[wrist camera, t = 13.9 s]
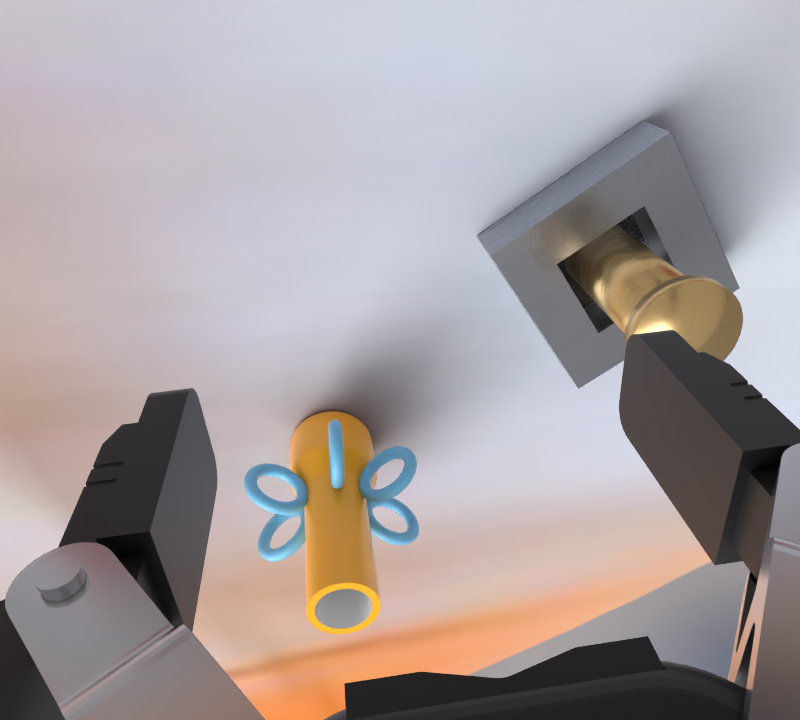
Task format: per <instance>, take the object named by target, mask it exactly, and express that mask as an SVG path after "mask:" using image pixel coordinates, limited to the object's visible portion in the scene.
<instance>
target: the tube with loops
mask: <svg viewBox="0 0 800 720" xmlns="http://www.w3.org/2000/svg"><path fill="white" fill-rule="evenodd" d="M393 459H403V460H404V463H405V464H404V469H403V471H402V473H401V474H400V476H399V477H398V478H397V479H396V480H395V481H394V482H393V483H392V484H390V485H389V486H387V487H385V488H382V489H379V490H374V487H375V484H376V480H377V470H378V469H379V468H380V467H381V466H382V465H384V464H385V463H387V462H388V461H390V460H393ZM416 467H417V461H416V457H415V455H414V453H413V452H412V451H411V450H409V449H407V448H405V447H393V448H389V449H386V450H384V451H382V452H381V453H379V454H378V455H376V456H374V450H373V444H372V439H371V435H370V432H369V430H368V429H367V427H366V426H365V425H364V424H363V423H362V422H361V421H360V420H359V419H357V418H356V417H354V416H352V415H350V414H347V413H343V412H339V411H328V412H321V413H318V414H315V415H313V416H311V417H309V418H307V419H306V420H304V421H303V422H302V423H301V424H300V425H299V426H298V427H297V428H296V430H295V431H294V433H293V435H292V438H291V441H290V470H289V469H287V468H285V467H283V466H280V465H276V464H260V465H257V466H254V467H253V468H251V469H250V470H249V471H248V472H247V474H246V476H245V479H244V487H245V490H246V493H247V494H248V496H249V497H250V499H251V500H252V501H253V502H254V503H255V504H256V505H258V506H259V507H261V508H262V509H264V510H266V511H269V512H271V513H275V515H274V516H273V517H272V518H271V519H270V520H269V521H268V523H267V524H266V525H265V527H264V529H263V530H262V532H261V534H260V537H259V541H258V551H259V553H260V555H261V557H262V558H264V559H265V560H267V561H279V560H282V559H285V558H287V557H288V556H290V555H292V554H293V553H294V552H295V551H297V550H298V549H299V548H300V547H301V546H302V544H303V543H304V542H305V564H306V614H307V618H308V620H309V622H310V623H311V624H312V625H313V626H314V627H315V628H317V629H319V630H321V631H323V632H327V633H331V634H347V633H352V632H356V631H358V630H361V629H363V628H365V627H366V626H368V625H369V624H371V623H372V622H373V621H374V620H375V619H376V617H377V616H378V614H379V611H380V597H379V590H378V583H377V575H376V568H375V561H374V553H373V546H372V538H371V533H373V534H374V535H375V536H376V537H378V538H379V539H381V540H383V541H385V542H387V543H390V544H394V545H406V544H409V543H411V542H413V541H414V540H415V539H416V538H417V536H418V533H419V525H418V521H417V519H416V517H415V515H414V514H413V513H412V511H411V510H410V509H409V508H408V507H407V506H405V505H404V504H403V503H401V502H400V501H398V500H396V499H394V498H393V497H395V496H396V495H398V494H399V493H400V492H402V491H403V490H404V489H405V488H406V487H407V486H408V484H409V483H410V482H411V480H412V478H413V476H414V474H415V471H416ZM262 476H275V477H278V478H281V479H283V480H284V481H286V482H288V483H289V484H290V486H291V489H292V492H293V494H294V495H295V497H296V499H295V500H293V501H291V502H281V501H277V500H274V499H272V498H270V497H268V496H266V495H265V494H264V493H263V492H262V491H261V490H260V489H259V487H258V485H257V479H258V478H259V477H262ZM378 506H380V507H386V508H389V509H391V510H393V511H395V512H396V513H397V514H399V515H400V516H401V517H402V518H403V519H404V521H405V522H406V524H407V527H408V529H407V531H406V532H404V533H397V532H393V531H390V530H388V529H386V528H385V527H383V526H382V525H381V524H380V523H379V522H378V521H377V520H376V519H375V518H374V516H373V513H372V509H373V508H374V507H378ZM294 516H300V517H301V524H300V527H299V529H298V531H297V532H296V534H295V535H294V536H293V538H292V539H291V540H290V541H288V542H287V543H286V544H285V545H283V546H281V547H279V548H276V549H271V548H270V541H271V538H272V536H273V534H274V532H275V531H276V530H277V528H278V527H279V526H280V525H281V524H282V523H283V522H285V521H286V520H288V519H289V518H291V517H294Z"/></svg>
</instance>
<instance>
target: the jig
mask: <svg viewBox="0 0 800 720" xmlns="http://www.w3.org/2000/svg"><path fill="white" fill-rule="evenodd" d="M631 214H632V215H633V217H634V219H635V221H636V223H637V225H638V227H639V229H640V231H641V233H642V235H643V237H644V239H645V241H646V243H647V245H648V247H649V249H650V250H652V251H653V252H654V253H655V254H657V255H658V256H659V257H661V258H662V259H663V260H665V261H666V262H667V263H669V264H670V265H671V266H673V267H674V268H675V269H677V270H678V271H679V272H681V273H682V274H683V275H701V276H706V277H709V278H712V279H713V280H715V281H717V282H718V283H720V284H721V285H723V286H724V287H725V288H727V289H728V290H729V291H731V292H732V293H733V292H734V291H736V290H737V289H739V286H738V283H737V281H736V279H735V277H734V274H733V272H732V270H731V267H730V265H729V263H728V261H727V258H726V256H725V254H724V251H723V249H722V247H721V245H720V242H719V240H718V238H717V236H716V233H715V231H714V229H713V226H712V224H711V222H710V220H709V217H708V215H707V213H706V210H705V208H704V206H703V204H702V201H701V199H700V197H699V194H698V192H697V190H696V188H695V185H694V183H693V181H692V178H691V176H690V174H689V172H688V169H687V167H686V165H685V163H684V160H683V158H682V156H681V153H680V151H679V149H678V147H677V144H676V142H675V140H674V137H673V135H672V133H671V132H670V131H668V130H665V129H663V128H660V127H658V126H655V125H653V124H650V123H648V122H645V121H641V122H640V123H639V124H637V125H636V126H634V127H633V128H631V129H630V130H628V131H627V132H626V133H624V134H623V135H621V136H620V137H618V138H617V139H616V140H614V141H613V142H611V143H610V144H608V145H607V146H605V147H604V148H603V149H601V150H600V151H598V152H597V153H595V154H594V155H593V156H591V157H590V158H588V159H587V160H585V161H584V162H582V163H581V164H580V165H578V166H577V167H575V168H574V169H572V170H571V171H570V172H568V173H567V174H565V175H564V176H562V177H561V178H559V179H558V180H557V181H555V182H554V183H552V184H551V185H549V186H548V187H547V188H545V189H544V190H542V191H541V192H539V193H538V194H536V195H535V196H534V197H532V198H531V199H529V200H528V201H526V202H525V203H524V204H522V205H521V206H519V207H518V208H516V209H515V210H513V211H512V212H511V213H509V214H508V215H506V216H505V217H503V218H502V219H501V220H499V221H498V222H496V223H495V224H493V225H492V226H490V227H489V228H488V229H486V230H485V231H483V232H482V233H480V234H479V235H478V236H477V237H478V239H479V240H480V242H481V243H482V245H483V246H484V248H485V249H486V251H487V252H488V254H489V255H490V257H491V259H492V260H493V262H494V263H495V265H496V266H497V268H498V269H499V271H500V272H501V274H502V275H503V277H504V278H505V280H506V281H507V283H508V284H509V286H510V287H511V289H512V290H513V292H514V293H515V295H516V296H517V298H518V299H519V301H520V302H521V304H522V305H523V307H524V308H525V310H526V311H527V313H528V314H529V316H530V317H531V319H532V320H533V322H534V323H535V325H536V326H537V328H538V329H539V331H540V332H541V334H542V335H543V337H544V339H545V340H546V342H547V343H548V345H549V346H550V348H551V349H552V351H553V352H554V354H555V355H556V357H557V358H558V360H559V361H560V363H561V364H562V366H563V367H564V368H565V370H566V371H567V373H568V374H569V376H570V377H571V379H572V380H573V381H574V383H575V384H576V386H577V387H578V389H579V388H580V387H582V386H584V385H585V384H587V383H588V382H590V381H592V380H593V379H595V378H596V377H598V376H600V375H601V374H603V373H604V372H606V371H608V370H609V369H611V368H612V367H614V366H616V365H617V364H619V363H620V362H622V361H624V359H625V351H626V348H625V341H624V337H625V333H624V332H623V331H622V330H621V329H620V328H619V327H618V326H617V325H616V324H615V323H614V322H613V321H612V320H611V318H610V317H609V316H608V315H607V314H606V313H605V312H604V311H603V310H602V309H601V308H600V307H599V306H598V305H597V304H596V302H595V301H592V302H591V303H589V304H588V305H586V306H585V307H582V305H581V303H580V302H579V300H578V299H577V297H576V295H575V294H574V292H573V290H572V289H571V287H570V285H569V284H568V282H567V280H566V279H565V277H564V275H563V274H562V272H561V270H560V269H559V267H558V265H557V264H558V263H559V262H561V261H562V260H564V259H565V258H567V257H568V256H570V255H571V254H573V253H574V252H576V251H577V250H579V249H580V248H582V247H583V246H585V245H586V244H588V243H589V242H591V241H592V240H594V239H595V238H597V237H598V236H600V235H601V234H603V233H604V232H606V231H607V230H609V229H610V228H612V227H613V226H615V225H616V224H618V223H619V222H621V221H622V220H624V219H625V218H627V217H628V216H630V215H631Z"/></svg>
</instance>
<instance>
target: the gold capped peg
mask: <svg viewBox="0 0 800 720" xmlns="http://www.w3.org/2000/svg"><path fill="white" fill-rule="evenodd" d="M564 265H565V268H566V270H567V272H568V273H569V275H570V276H571V277H572V278H573V279H574V280H575V281H576V282H577V283H578V284H579V285H580V286H581V287H582V289H583V290H584V291H585V292H586V293H587V294H588V295H589V296H590V297H591V298H592V299H593V300H594V301H595V302H596V304H597V305H598V306H599V307H600V308H601V309H602V310H603V311H604V312H605V313H606V314H607V315H608V316H609V317H610V318H611V320H612V321H613V322H614V323H615V324H616V325H617V326H618V327H619V328H620V329H621V330H622V331H623V332H624V333H625V337H624V341H625V348H626V344H627V341H628V339H629V337H630V336H631V335H633V334H640V333H648V332H656V331H664V330H674V331H676V332H677V333H678V334H679V335H680V336H681V337H682V338H683V339H684V340H685V341H686V342H687V343H688V344H689V345H691V346H692V347H693V348H694V349H695V350H696V351H697V352H698V353H699V352H705V353H707V354H709V355H711V356H714V357H716V358H718V359H720V360H722V361H724V360H725V359H726V357H727V356H728V355H729V354H730V353H731V351H732V350H733V348H734V347H735V345H736V343H737V341H738V338H739V336H740V333H741V329H742V323H743V314H742V308H741V305H740V303H739V301H738V299H737V298H736V296H735V295H734V294H733V293H732V292H731V291H729V290H728V289H727V288H725V287H724V286H723V285H721V284H720V283H718V282H717V281H715V280H713V279H712V278H709V277H706V276H701V275H683V274H682V273H681V272H679V271H678V270H677V269H675V268H674V267H673V266H671V265H670V264H669V263H667V262H666V261H665V260H663V259H662V258H661V257H659V256H658V255H657V254H655V253H654V252H653V251H652V250H650V249H649V248H648V247H646V246H645V245H644V244H642V243H641V242H640V241H638V240H637V239H636V238H634V237H633V236H632V235H630V234H629V233H628V232H626V231H625V230H624V229H622V228H621V227H620V226H618V225H617V224H616V225H615V226H613V227H612V228H610V229H609V230H607V231H606V232H604V233H603V234H601V235H600V236H598V237H597V238H595V239H594V240H592V241H591V242H589V243H588V244H586V245H585V246H583V247H582V248H580V249H579V250H577V251H576V252H574V253H573V254H571V255H570V256H568V257H567V258H565V259H564Z"/></svg>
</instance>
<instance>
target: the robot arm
mask: <svg viewBox="0 0 800 720" xmlns="http://www.w3.org/2000/svg"><path fill="white" fill-rule="evenodd" d="M619 413H620V419H621V424H622V427H623V430H624V432H625V434H626V436H627V437H628V439H629V440H630V442H631V443H632V445H633V446H634V448H635V449H636V451H637V452H638V454H639V455H640V457H641V458H642V459H643V461H644V462H645V464H646V465H647V467H648V468H649V470H650V471H651V473H652V474H653V476H654V477H655V478H656V480H657V481H658V483H659V484H660V486H661V487H662V489H663V490H664V492H665V493H666V495H667V496H668V498H669V499H670V500H671V502H672V503H673V505H674V506H675V508H676V509H677V511H678V512H679V514H680V515H681V517H682V518H683V519H684V521H685V522H686V524H687V525H688V527H689V528H690V530H691V531H692V533H693V534H694V536H695V537H696V539H697V540H698V541H699V543H700V544H701V546H702V547H703V549H704V550H705V552H706V553H707V555H708V556H709V558H710V559H711V560H712V562H713V563H714V565H718V564H726V563H732V562H739V561H743V562H744V563H745V564H746V566H747V567H748V568H749V573H748V576H747V580H746V583H745V588H744V593H743V599H742V605H741V610H740V616H739V621H738V627H737V632H736V639H735V643H734V649H733V655H732V660H731V666H730V671H729V676H728V680H727V679H725V678H722V677H720V676H717V675H715V674H712V673H710V672H708V671H704V670H701V669H698V668H695V667H691V666H688V665H683V664H678V663H673V662H667V661H660V660H659V657H658V655H657V653H656V651H655V650H654V647H653V645H652V644H651V642H650V640H649V638H648V637H641V638H634V639H628V640H621V641H615V642H608V643H602V644H595V645H589V646H583V647H577V648H573V649H571V650H569V651H567V652H564V653H562V654H560V655H557V656H555V657H553V658H550V659H548V660H546V661H544V662H541V663H539V664H537V665H535V666H532V667H530V668H528V669H525V670H523V671H521V672H518V673H516V674H514V675H512V676H509V677H505V678H486V677H476V676H464V675H453V674H441V673H430V672H416V673H409V674H403V675H397V676H390V677H384V678H377V679H371V680H365V681H358V682H352V683H345V702H346V709H345V710H342V711H340V712H338V713H336V714H334V715H332V716H330V717H328V718H326V719H325V720H800V430H799V429H798V428H797V427H796V426H795V425H794V424H793V423H792V422H791V421H790V420H789V419H787V418H786V417H785V416H784V415H783V414H782V413H781V412H780V411H779V410H778V409H777V408H776V407H775V406H774V405H773V404H771V403H770V402H769V401H768V400H767V399H766V398H764V399H763V398H762V394H761V393H760V392H759V391H758V390H757V389H755V388H754V387H753V386H752V385H748V381H747V380H746V379H745V378H744V377H743V376H742V375H741V374H739V373H738V372H737V371H736V370H735V369H734V368H733V367H732V366H731V365H730V364H728V363H726V362H724V361H722V360H720V359H718V358H716V357H714V356H711V355H709V354H707V353H705V352H699V353H698V352H697V351H696V350H695V349H694V348H693V347H692V346H691V345H689V344H688V343H687V342H686V341H685V340H684V339H683V338H682V337H681V336H680V335H679V334H678V333H677V332H676V331H674V330H664V331H656V332H648V333H640V334H633V335H631V336H630V337H629V339H628V341H627V344H626V351H625V359H624V368H623V376H622V384H621V393H620V401H619ZM93 466H94V469H93V470H91V472H90V474H89V477H88V479H87V481H86V487H84V488H83V491H82V493H81V495H80V498H79V500H78V502H77V505H76V507H75V509H74V512H73V514H72V516H71V519H70V521H69V523H68V526H67V528H66V530H65V533H64V535H63V537H62V540H61V542H60V544H59V547H58V548H56V549H54V550H52V551H50V552H48V553H46V554H44V555H42V556H40V557H39V558H37V559H36V560H34V561H33V562H32V563H30V564H29V565H28V566H27V567H25V568H24V569H23V570H22V571H21V572H20V573H19V574H18V576H17V577H16V578H15V579H14V581H13V582H12V584H11V585H10V587H9V589H8V592H7V594H6V599H4V600H2V601H0V720H265V719H264V718H263V716H262V715H261V714H260V713H259V712H258V710H257V709H256V708H255V707H254V706H253V705H252V703H251V702H250V701H249V700H248V699H247V697H246V696H245V695H244V694H243V693H242V691H241V690H240V689H239V688H238V687H237V685H236V684H235V683H234V682H233V681H232V679H231V678H230V677H229V676H228V675H227V673H226V672H225V671H224V670H223V669H222V667H221V666H220V665H219V664H218V663H217V662H216V660H215V659H214V658H213V657H212V656H211V654H210V653H209V652H208V651H207V650H206V648H205V647H204V646H203V645H202V644H201V642H200V641H199V640H198V639H197V638H196V636H195V635H194V634H193V633H192V630H193V624H194V618H195V612H196V606H197V601H198V595H199V589H200V583H201V577H202V572H203V566H204V560H205V554H206V549H207V543H208V537H209V531H210V525H211V520H212V514H213V508H214V502H215V496H216V490H217V469H216V461H215V456H214V453H213V449H212V445H211V442H210V438H209V434H208V431H207V427H206V424H205V420H204V416H203V413H202V409H201V406H200V402H199V399H198V396H197V393H196V391H195V390H194V389H193V388H190V389H182V390H174V391H166V392H158V393H151V394H149V396H148V398H147V400H146V403H145V406H144V408H143V411H142V414H141V416H140V419H139V422H138V423H132V424H124V425H122V426H120V427H119V428H118V429H117V430H116V431H115V432H114V433H113V434H112V435H111V436H110V437H109V438H108V439H107V440H106V441H105V442H104V443H103V444H102V447H101V449H100V451H99V454H98V456H97V458H96V461H95V463H94V465H93Z"/></svg>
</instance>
